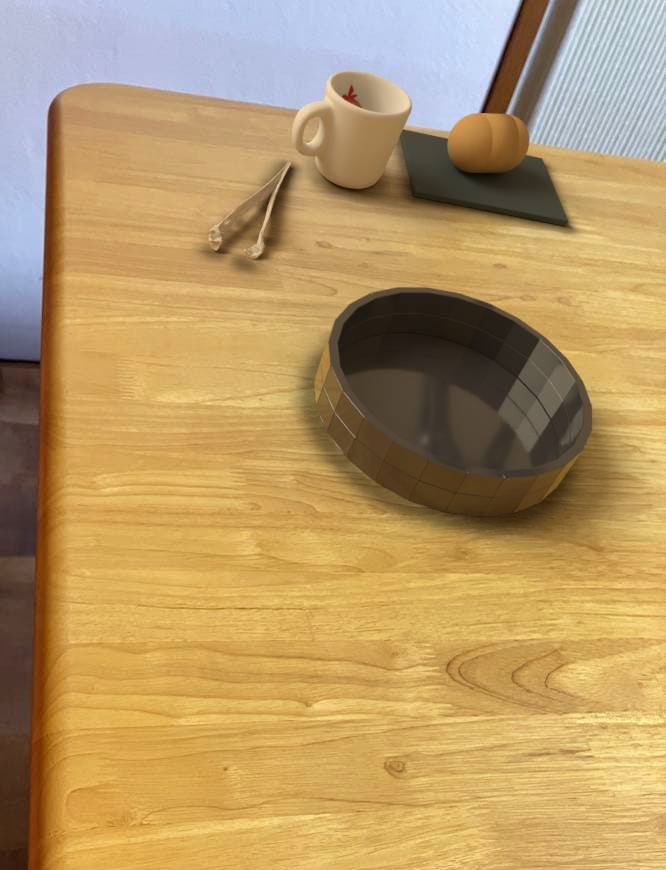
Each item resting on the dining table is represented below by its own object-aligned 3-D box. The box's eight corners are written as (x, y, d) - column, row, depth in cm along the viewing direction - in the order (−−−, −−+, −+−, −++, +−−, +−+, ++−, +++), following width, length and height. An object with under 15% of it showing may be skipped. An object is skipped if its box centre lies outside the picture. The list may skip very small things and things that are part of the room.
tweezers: (257, 267, 72) (262, 245, 71) (203, 248, 73) (207, 225, 71) (309, 185, 84) (314, 165, 83) (263, 168, 85) (267, 148, 83)
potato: (500, 165, 93) (513, 109, 90) (532, 178, 89) (547, 120, 86) (432, 165, 90) (443, 107, 87) (461, 179, 86) (474, 118, 83)
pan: (532, 353, 73) (557, 310, 70) (590, 537, 61) (624, 495, 58) (306, 315, 70) (321, 268, 66) (320, 502, 58) (339, 455, 54)
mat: (539, 163, 95) (542, 158, 95) (565, 226, 88) (568, 221, 87) (399, 134, 92) (401, 128, 92) (413, 196, 85) (415, 190, 85)
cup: (299, 201, 80) (323, 115, 74) (265, 153, 84) (284, 68, 78) (399, 197, 84) (428, 115, 78) (362, 151, 88) (387, 70, 82)
